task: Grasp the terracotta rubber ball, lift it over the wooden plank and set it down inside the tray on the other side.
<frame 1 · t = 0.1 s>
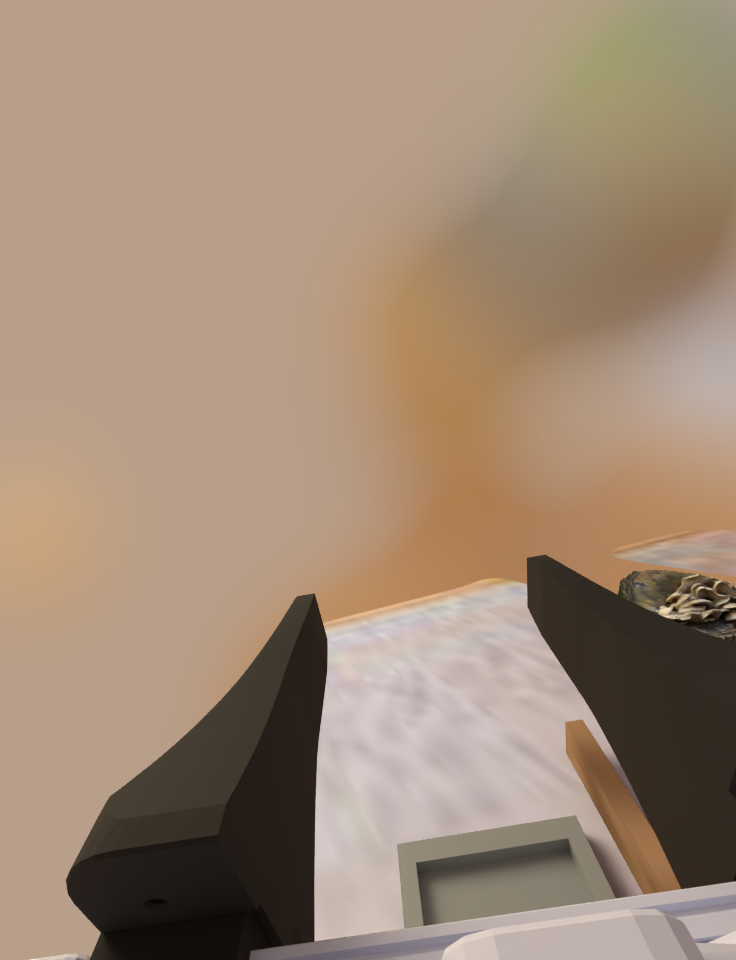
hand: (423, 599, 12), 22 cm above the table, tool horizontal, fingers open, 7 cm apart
log: (681, 612, 38), on the table
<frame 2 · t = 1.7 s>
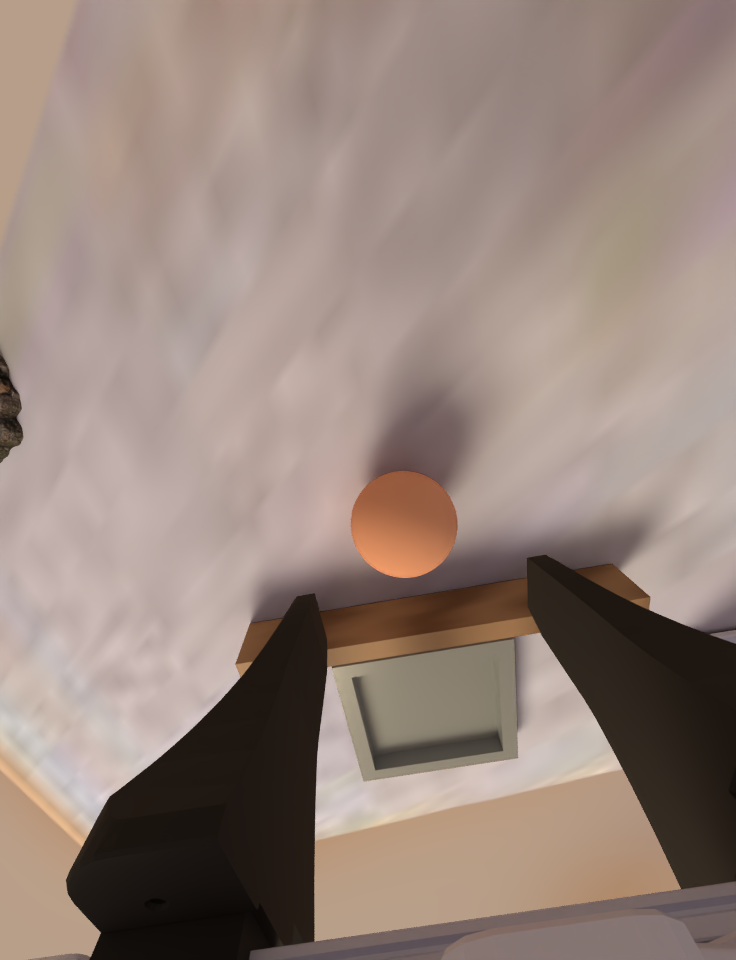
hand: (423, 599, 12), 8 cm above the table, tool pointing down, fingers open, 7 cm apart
wooden plank: (429, 602, 22), on the table
ball: (403, 523, 17), point 2 cm above the table
tray: (428, 697, 25), on the table
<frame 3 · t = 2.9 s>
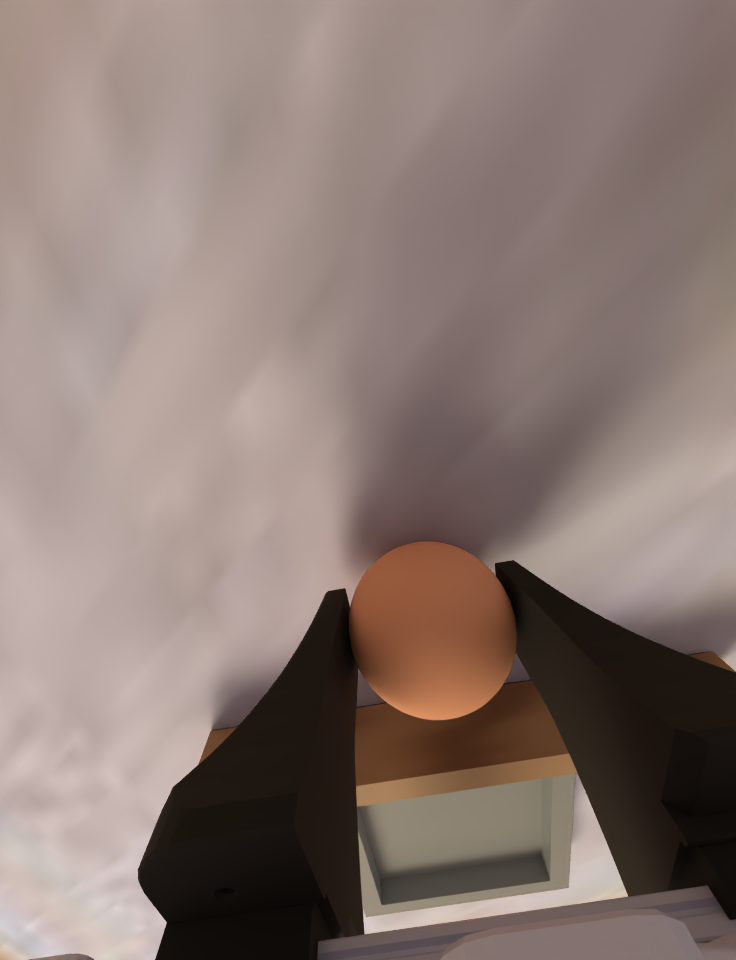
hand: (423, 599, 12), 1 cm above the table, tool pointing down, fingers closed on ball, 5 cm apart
wooden plank: (458, 701, 16), on the table
ball: (429, 623, 11), point 2 cm above the table, touching gripper
tray: (451, 811, 19), on the table
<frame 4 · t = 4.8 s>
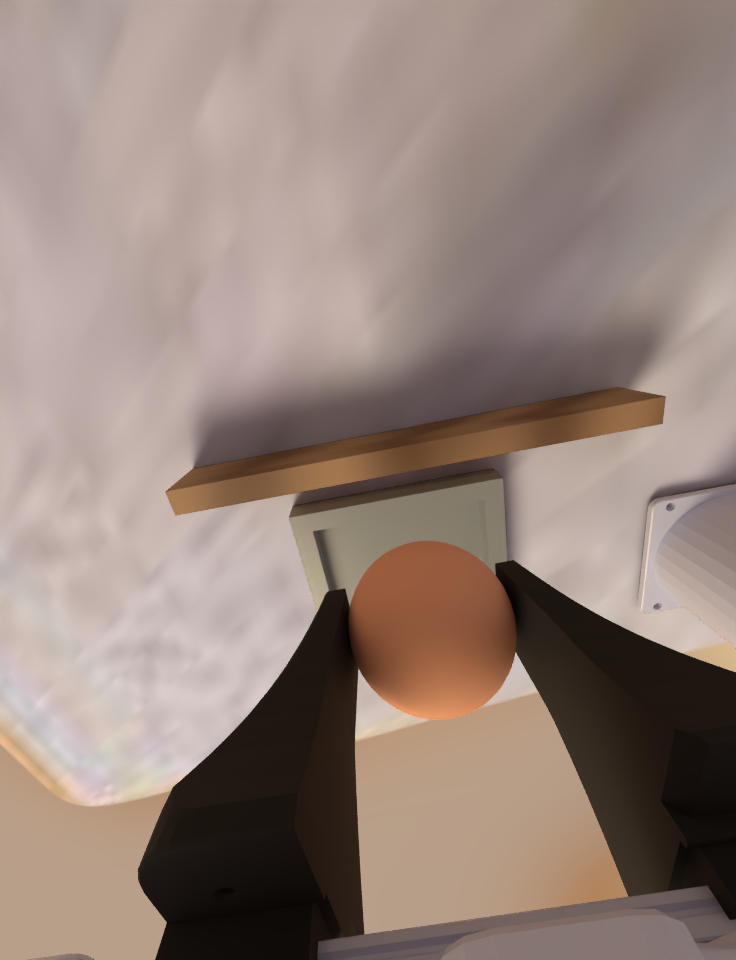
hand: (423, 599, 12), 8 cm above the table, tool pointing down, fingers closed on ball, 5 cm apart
wooden plank: (403, 440, 19), on the table
ball: (429, 622, 11), point 9 cm above the table, touching gripper
tray: (406, 571, 22), on the table
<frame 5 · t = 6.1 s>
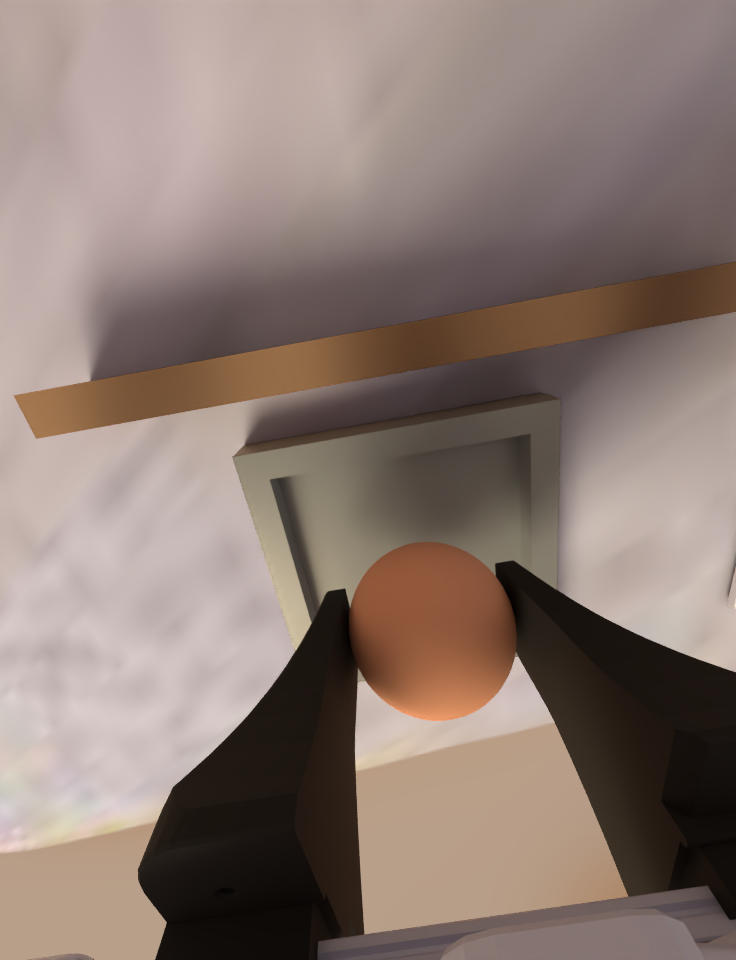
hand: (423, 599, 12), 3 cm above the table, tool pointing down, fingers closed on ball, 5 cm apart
wooden plank: (408, 342, 12), on the table
ball: (429, 623, 11), point 4 cm above the table, touching gripper
tray: (409, 547, 15), on the table
when the fingers open (3 cm above the table, at t = 7.1 s): ball drops 1 cm, resting on tray.
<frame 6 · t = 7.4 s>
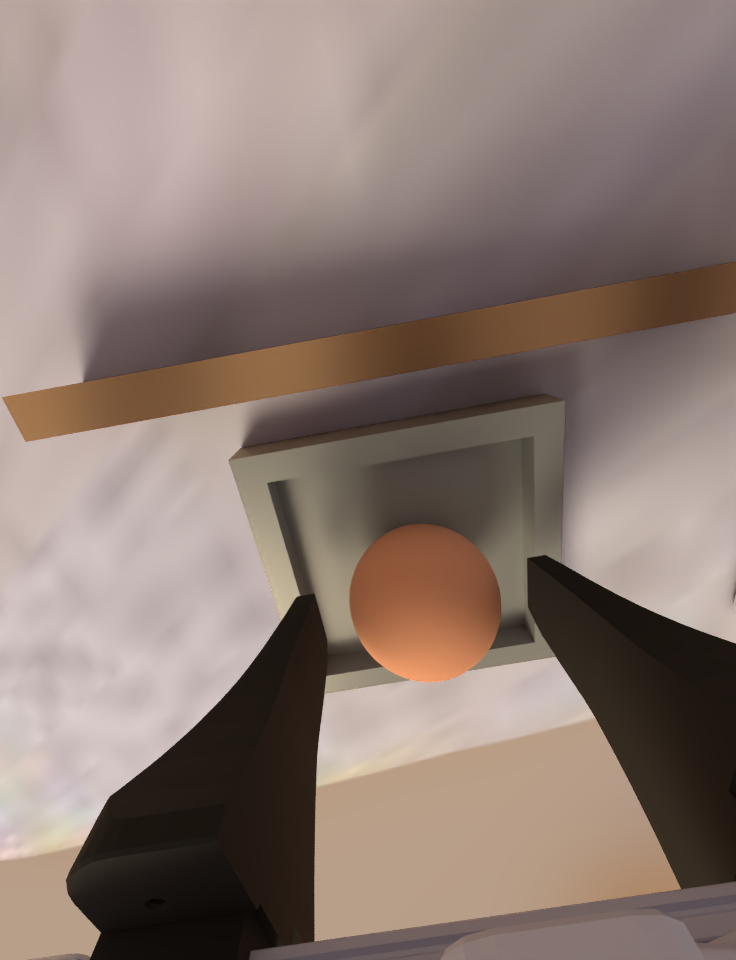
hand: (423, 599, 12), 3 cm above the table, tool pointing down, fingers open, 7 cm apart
wooden plank: (409, 342, 12), on the table
ball: (423, 597, 12), point 3 cm above the table, touching tray
tray: (410, 551, 15), on the table
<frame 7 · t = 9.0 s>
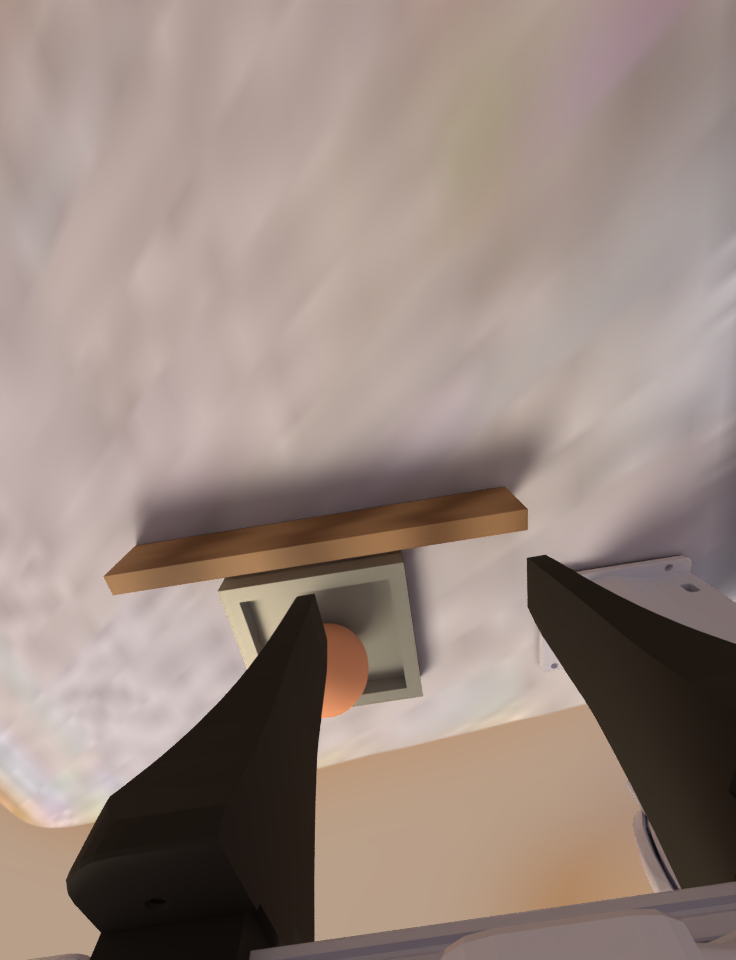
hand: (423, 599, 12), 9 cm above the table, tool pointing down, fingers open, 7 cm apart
wooden plank: (320, 525, 22), on the table
ball: (327, 668, 22), point 3 cm above the table, touching tray
tray: (329, 631, 25), on the table
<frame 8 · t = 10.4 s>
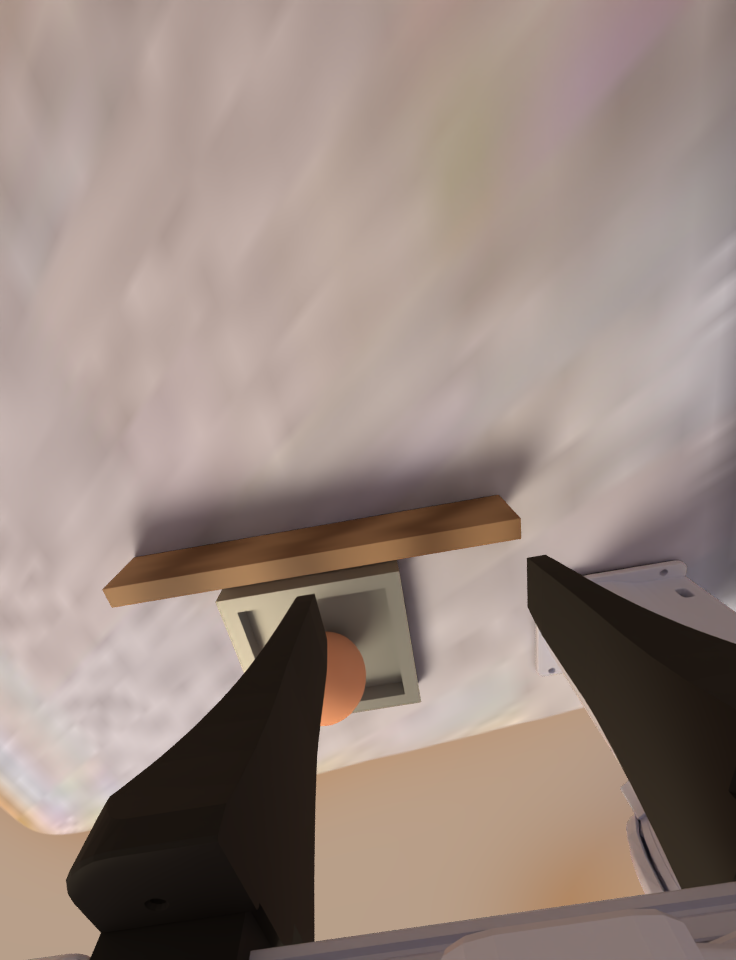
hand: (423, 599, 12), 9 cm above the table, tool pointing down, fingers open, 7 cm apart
wooden plank: (316, 535, 22), on the table
ball: (324, 676, 22), point 3 cm above the table, touching tray
tray: (327, 639, 25), on the table
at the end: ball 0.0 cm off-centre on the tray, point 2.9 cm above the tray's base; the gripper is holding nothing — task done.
